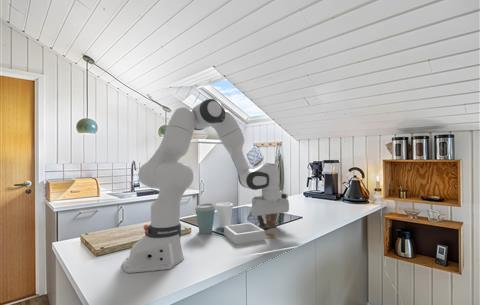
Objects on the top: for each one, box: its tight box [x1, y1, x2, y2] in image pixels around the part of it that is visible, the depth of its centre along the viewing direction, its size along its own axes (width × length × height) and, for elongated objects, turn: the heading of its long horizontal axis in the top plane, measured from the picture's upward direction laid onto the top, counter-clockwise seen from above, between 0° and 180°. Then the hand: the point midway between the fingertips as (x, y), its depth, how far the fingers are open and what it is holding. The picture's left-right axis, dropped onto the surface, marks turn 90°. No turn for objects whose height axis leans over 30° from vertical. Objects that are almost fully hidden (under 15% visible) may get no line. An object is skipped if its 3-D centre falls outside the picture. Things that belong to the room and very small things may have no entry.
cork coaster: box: [265, 232, 279, 240], centre depth 129 cm, size 8×8×1 cm
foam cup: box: [215, 202, 234, 229], centre depth 146 cm, size 10×9×13 cm
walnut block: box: [264, 214, 277, 229], centre depth 129 cm, size 4×4×7 cm
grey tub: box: [223, 222, 266, 245], centre depth 127 cm, size 15×15×5 cm
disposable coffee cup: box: [194, 202, 216, 235], centre depth 136 cm, size 11×11×15 cm
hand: (270, 222), depth 129 cm, fingers closed on walnut block, 4 cm apart
